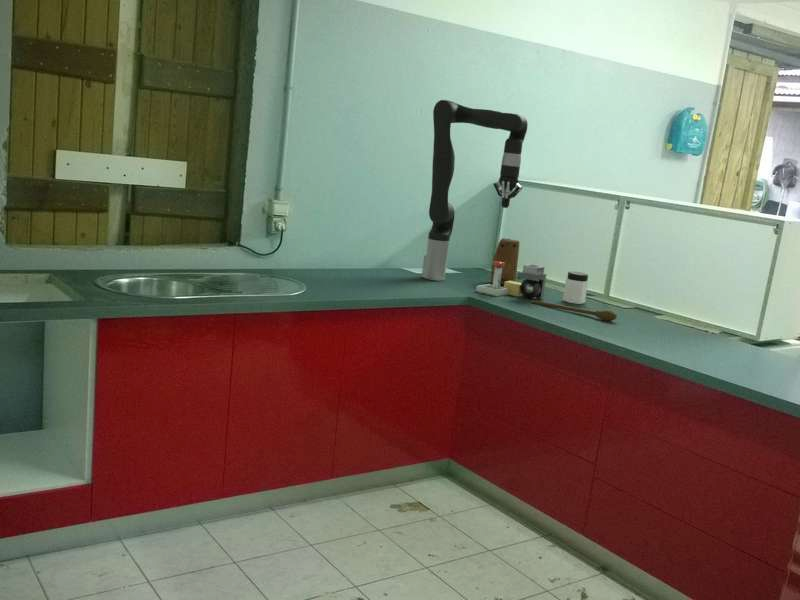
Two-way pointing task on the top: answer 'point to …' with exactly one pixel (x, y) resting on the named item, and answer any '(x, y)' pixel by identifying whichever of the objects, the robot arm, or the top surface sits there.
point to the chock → (513, 288)
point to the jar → (575, 287)
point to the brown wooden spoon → (581, 310)
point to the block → (507, 259)
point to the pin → (497, 274)
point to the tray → (492, 290)
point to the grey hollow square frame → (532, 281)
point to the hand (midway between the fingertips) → (504, 207)
